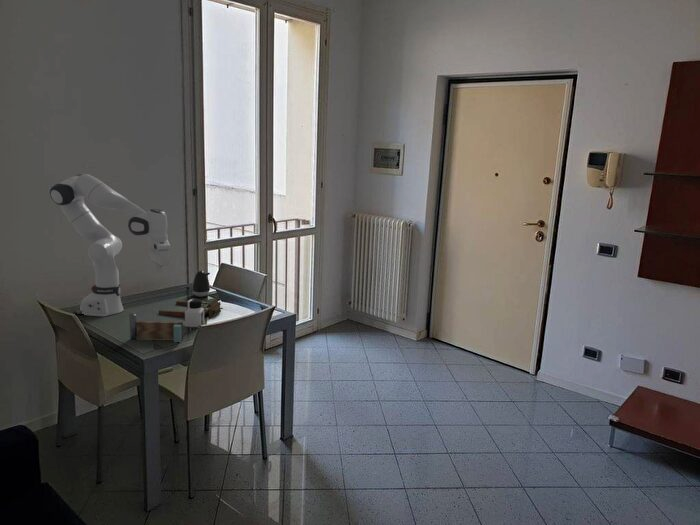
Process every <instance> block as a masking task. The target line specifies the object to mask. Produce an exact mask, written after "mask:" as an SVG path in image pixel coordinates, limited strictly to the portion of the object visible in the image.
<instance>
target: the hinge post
mask: <svg viewBox="0 0 700 525" xmlns="http://www.w3.org/2000/svg"><path fill="white" fill-rule="evenodd" d="M128 317H129V338H130V339H129V340H130V341H131V340H135V341H137V340H138V339H137V313H130V314H129V315H128Z"/></svg>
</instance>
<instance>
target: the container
mask: <svg viewBox="0 0 700 525" xmlns="http://www.w3.org/2000/svg"><path fill="white" fill-rule="evenodd" d="M187 301H188V306H187V310H186V311H185V316H184V327H187V328H199V327H198V326H199V325H202V326H203V324H204V323H205V316H204V308H201V302H202V300H201V299H198V298H191V299H188V300H187Z"/></svg>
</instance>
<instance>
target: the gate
mask: <svg viewBox="0 0 700 525" xmlns="http://www.w3.org/2000/svg"><path fill="white" fill-rule="evenodd" d="M175 324H182V340H183V339H184V321H153V320H152V321H151V320H149V321H148V320H147V321H142V320H138V321H137V340H174V327H173V326H174V325H175Z"/></svg>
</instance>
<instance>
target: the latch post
mask: <svg viewBox="0 0 700 525" xmlns="http://www.w3.org/2000/svg"><path fill="white" fill-rule="evenodd" d="M173 327H174V339H173V343H174V342H181V343H182V341H183V339H182V324H175V325H174V326H173ZM181 340H182V341H181Z"/></svg>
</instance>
